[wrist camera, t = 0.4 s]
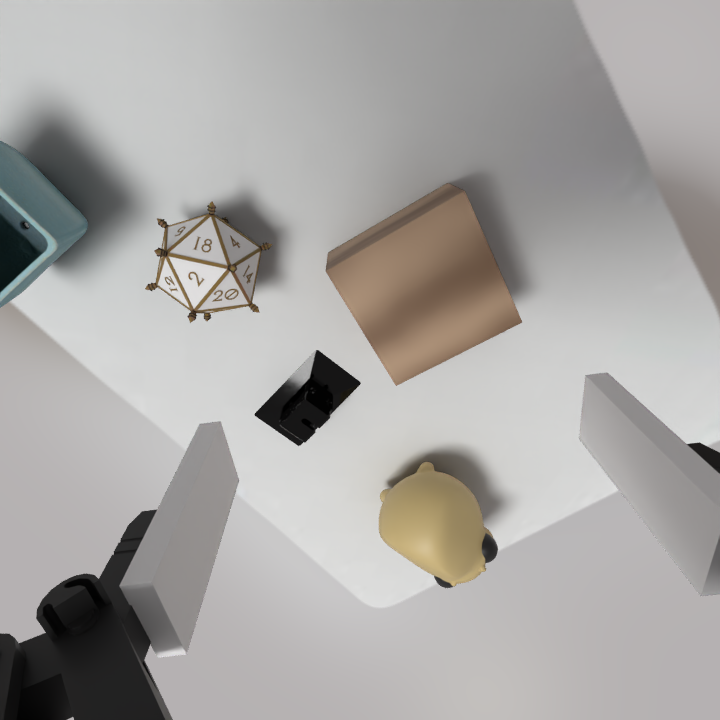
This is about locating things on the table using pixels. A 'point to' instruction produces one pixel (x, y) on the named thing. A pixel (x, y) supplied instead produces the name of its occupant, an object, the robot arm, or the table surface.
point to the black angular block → (307, 398)
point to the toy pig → (437, 526)
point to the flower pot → (31, 223)
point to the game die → (207, 265)
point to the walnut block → (423, 284)
